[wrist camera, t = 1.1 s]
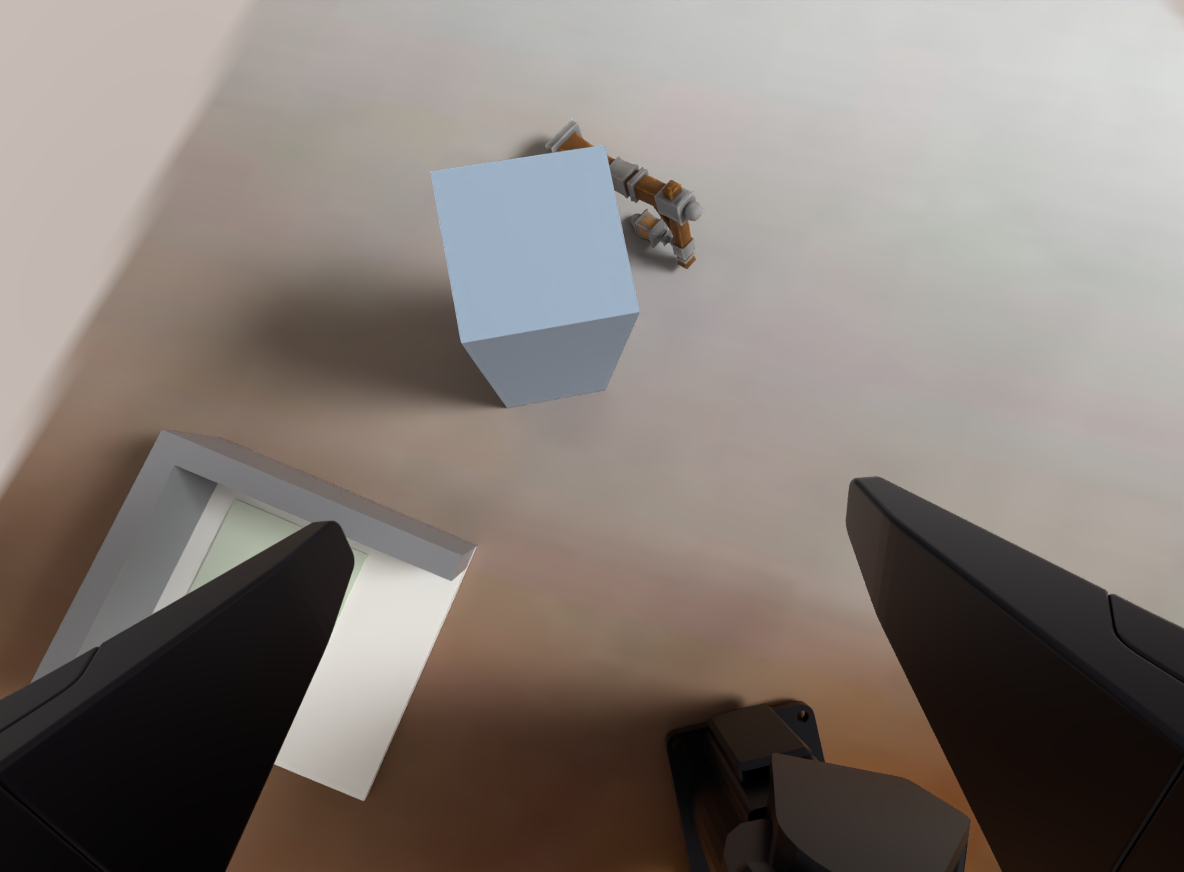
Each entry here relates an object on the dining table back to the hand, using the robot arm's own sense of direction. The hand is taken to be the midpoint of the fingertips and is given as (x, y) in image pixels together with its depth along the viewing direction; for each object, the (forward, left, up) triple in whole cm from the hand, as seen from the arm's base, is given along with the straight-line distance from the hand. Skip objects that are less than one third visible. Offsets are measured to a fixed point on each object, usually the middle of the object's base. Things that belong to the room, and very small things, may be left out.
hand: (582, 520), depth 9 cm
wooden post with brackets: (+13, -5, -15) cm, 21 cm away
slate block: (+7, 0, -15) cm, 16 cm away
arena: (-2, +12, -15) cm, 19 cm away
